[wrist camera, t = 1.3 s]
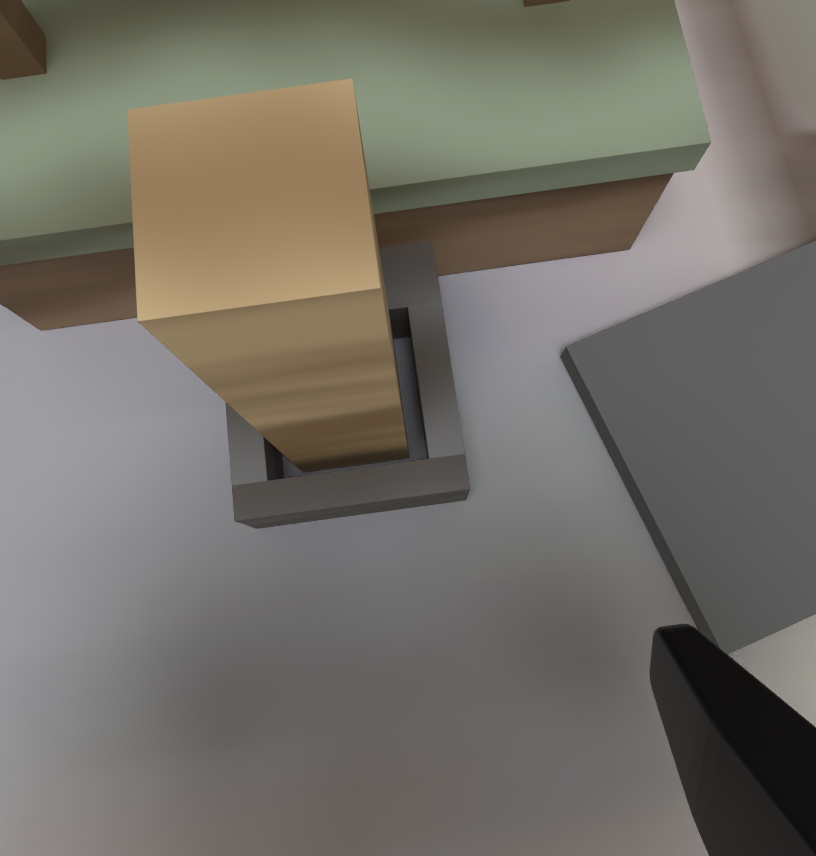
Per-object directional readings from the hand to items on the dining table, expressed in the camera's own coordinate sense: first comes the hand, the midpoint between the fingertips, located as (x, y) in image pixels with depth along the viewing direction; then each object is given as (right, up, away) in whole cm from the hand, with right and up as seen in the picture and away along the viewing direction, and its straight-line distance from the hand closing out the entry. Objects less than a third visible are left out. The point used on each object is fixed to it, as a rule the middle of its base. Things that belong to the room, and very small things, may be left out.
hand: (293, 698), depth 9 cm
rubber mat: (+13, +3, +14) cm, 19 cm away
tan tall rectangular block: (0, +4, +14) cm, 15 cm away
